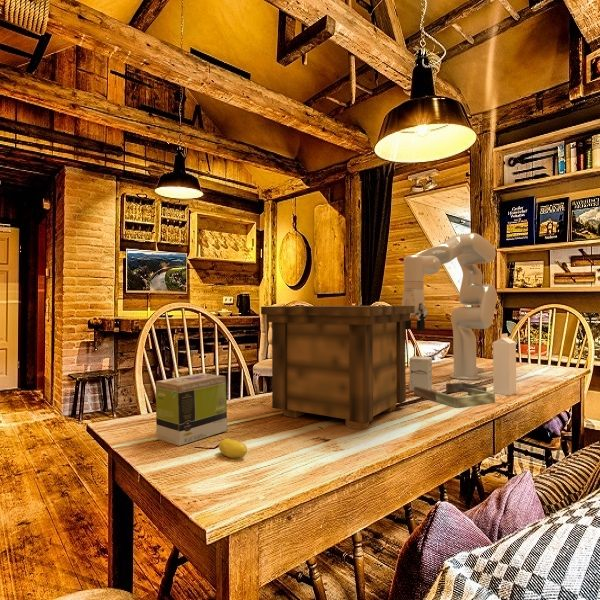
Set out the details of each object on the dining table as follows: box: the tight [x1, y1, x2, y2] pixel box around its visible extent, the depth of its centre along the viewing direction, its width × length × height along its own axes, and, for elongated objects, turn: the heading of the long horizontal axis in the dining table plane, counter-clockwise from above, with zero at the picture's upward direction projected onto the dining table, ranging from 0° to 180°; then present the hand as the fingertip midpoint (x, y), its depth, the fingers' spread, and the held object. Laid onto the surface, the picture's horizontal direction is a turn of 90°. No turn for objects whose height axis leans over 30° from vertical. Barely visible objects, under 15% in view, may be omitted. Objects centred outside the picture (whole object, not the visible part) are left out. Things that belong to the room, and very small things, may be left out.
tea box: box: [155, 372, 228, 447], centre depth 107 cm, size 15×10×15 cm
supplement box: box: [408, 355, 433, 392], centre depth 161 cm, size 7×7×13 cm
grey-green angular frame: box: [413, 381, 496, 409], centre depth 148 cm, size 23×20×3 cm
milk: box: [492, 332, 517, 396], centre depth 155 cm, size 6×6×22 cm
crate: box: [260, 305, 415, 430], centre depth 130 cm, size 35×35×33 cm
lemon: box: [218, 437, 248, 459], centre depth 92 cm, size 4×8×4 cm, turn 47°
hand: (413, 330), depth 165 cm, fingers open, 9 cm apart
